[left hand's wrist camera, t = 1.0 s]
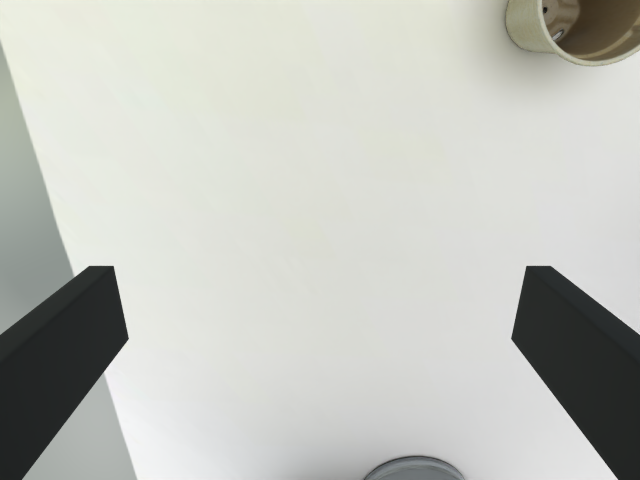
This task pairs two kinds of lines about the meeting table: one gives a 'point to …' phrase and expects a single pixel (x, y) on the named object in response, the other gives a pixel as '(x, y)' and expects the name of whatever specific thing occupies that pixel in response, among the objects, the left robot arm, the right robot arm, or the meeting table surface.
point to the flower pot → (577, 28)
